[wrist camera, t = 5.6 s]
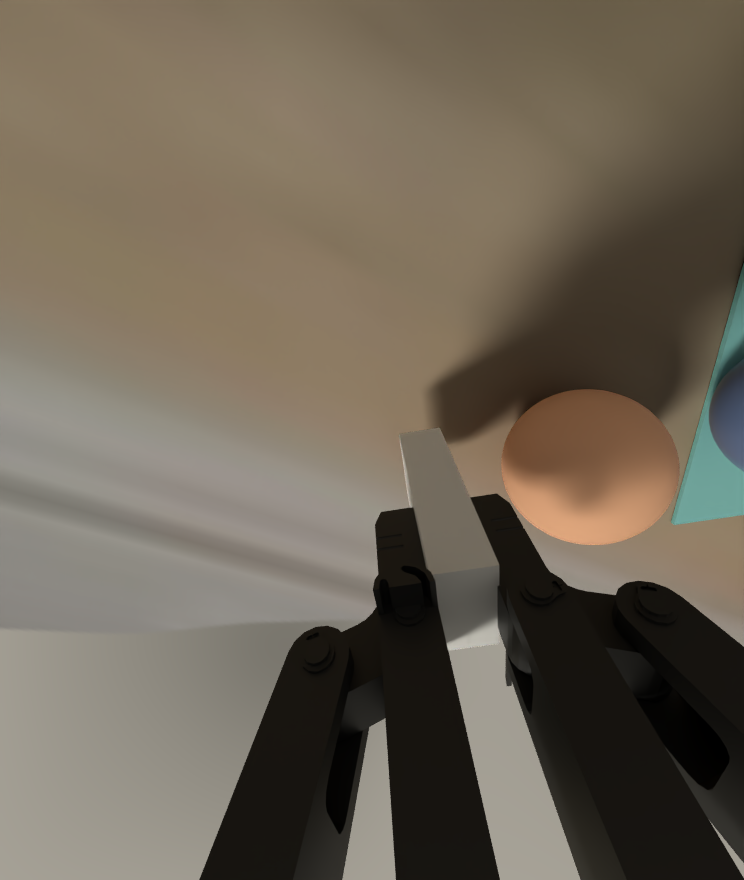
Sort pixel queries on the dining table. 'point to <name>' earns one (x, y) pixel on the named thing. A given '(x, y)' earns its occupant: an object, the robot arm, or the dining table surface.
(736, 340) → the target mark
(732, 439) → the object ball
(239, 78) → the dining table surface
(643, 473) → the orange sphere
